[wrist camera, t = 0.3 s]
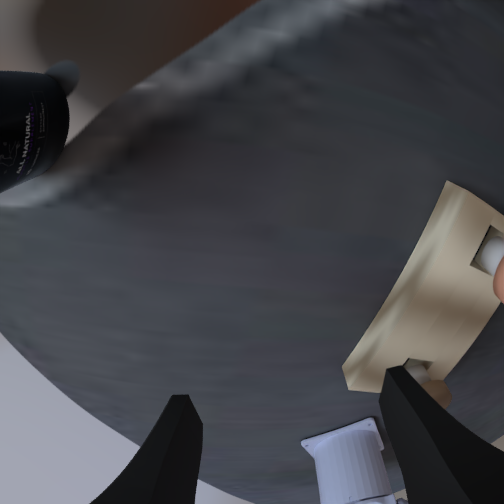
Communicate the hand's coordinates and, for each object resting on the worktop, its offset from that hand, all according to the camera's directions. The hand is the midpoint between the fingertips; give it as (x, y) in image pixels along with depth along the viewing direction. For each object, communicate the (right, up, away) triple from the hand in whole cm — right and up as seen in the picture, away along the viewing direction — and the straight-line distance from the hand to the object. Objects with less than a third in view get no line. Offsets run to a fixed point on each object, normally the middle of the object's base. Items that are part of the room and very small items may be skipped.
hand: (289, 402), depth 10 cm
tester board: (+13, +2, +10) cm, 16 cm away
